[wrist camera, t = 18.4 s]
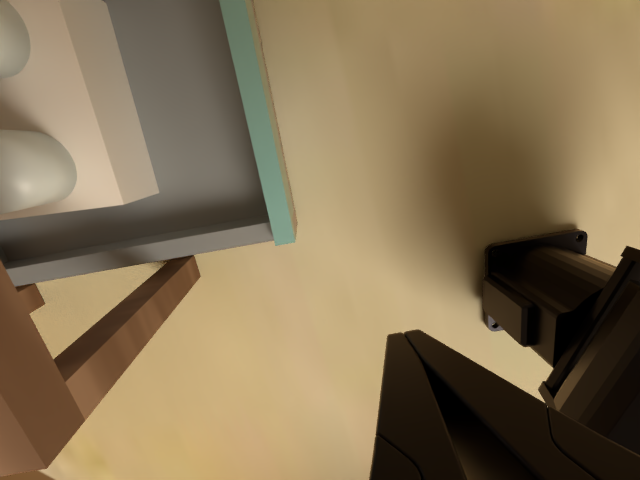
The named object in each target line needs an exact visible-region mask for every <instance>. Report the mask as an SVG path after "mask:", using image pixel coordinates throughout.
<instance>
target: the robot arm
mask: <svg viewBox="0 0 640 480" xmlns="http://www.w3.org/2000/svg"><path fill="white" fill-rule="evenodd" d="M577 236H578V238H577V239H576V237H577ZM586 246H587V233H586V232H584V231H582V230H579V229H574V230H568V231H562V232H557V233H551V234H545V235H540V236H534V237H529V238H523V239H517V240H512V241H506V242H500V243H495V244H491V245H489V246H487V247H486V249H485V276H484V278H483V310H484V311H485V325H486V326H487V327H488V328H489V329H490V330H491V331H500V330H505V331H506V332H507V333H508V334H509V335H510V336H511V337H512V338H513V339H514V340H516V341H517V342H518V343H519V344H520V345H522V346H523V347H531V348H532V349H533V350H534V351H535V352H536V353H537V354H538V355H539V356H541V357H542V358H543V359H544V360H545V361H546V362H547V363H548V364H549V365H550V366H552V367H553V368H554V369H553V370H552V372H551V374H550V375H549V377H548V378H547V380H546V381H543V382H542V384H541V385H540V387H539V389H538V390H539V392H540V394H541V396H542V397H543V399H544V401H545V403H544V402H542V401H541V400H539V399H537V398H535V397H534V396H532V395H530V394H529V393H527V392H525V391H523V390H522V389H520V388H518V387H517V386H515V385H513V384H511V383H510V382H508V381H506V380H505V379H503V378H501V377H499V376H498V375H496V374H494V373H493V372H491V371H489V370H488V369H486V368H484V367H482V366H481V365H479V364H477V363H476V362H474V361H472V360H470V359H469V358H467V357H465V356H464V355H462V354H460V353H458V352H457V351H455V350H453V349H452V348H450V347H448V346H446V345H445V344H443V343H441V342H440V341H438V340H436V339H434V338H433V337H431V336H429V335H428V334H426V333H424V332H423V331H421V330H411V331H406V332H404V334H403V333H394V334H389V335H388V336H387V343H386V351H385V360H384V368H383V377H382V385H381V394H380V402H379V411H378V419H377V428H376V437H375V443H374V451H373V458H372V464H371V471H370V477H369V480H640V250H639V249H635V248H632V247H629V246H626V248H625V249H624V251H623V253H622V254H621V256H622V257H623V258H622V259H621V261H620V263H619V264H618V266H617V267H615V266H613V265H610V264H608V263H605V262H603V261H600V260H598V259H595V258H593V257H590V256H588V255H586ZM495 249H496V252H495V253H494V254H492V251H493V250H495ZM493 323H495V324H494V325H492V324H493ZM546 404H547V405H546ZM547 406H548V407H547Z"/></svg>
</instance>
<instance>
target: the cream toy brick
mask: <svg viewBox="0 0 640 480" xmlns="http://www.w3.org/2000/svg"><path fill="white" fill-rule="evenodd" d="M158 193H159V189H158V186H157V182H156V179H155V175H154V172H153V168H152V164H151V161H150V157H149V154H148V150H147V147H146V143H145V140H144V136H143V132H142V129H141V125H140V122H139V118H138V115H137V111H136V107H135V104H134V100H133V97H132V93H131V90H130V86H129V82H128V79H127V75H126V72H125V68H124V65H123V61H122V57H121V54H120V50H119V47H118V43H117V40H116V36H115V32H114V29H113V25H112V22H111V18H110V15H109V11H108V8H107V4H106V3H105V2H104V1H102V0H0V220H7V219H15V218H23V217H31V216H39V215H47V214H54V213H62V212H70V211H78V210H86V209H94V208H102V207H109V206H117V205H124V204H127V203H130V202H133V201H136V200H140V199H143V198H146V197H149V196H152V195H155V194H158Z"/></svg>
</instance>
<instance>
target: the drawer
mask: <svg viewBox="0 0 640 480" xmlns="http://www.w3.org/2000/svg"><path fill="white" fill-rule="evenodd" d="M102 1H104V2H105V3H106V4H107V8H108V11H109V15H110V18H111V22H112V25H113V29H114V32H115V36H116V40H117V43H118V47H119V50H120V54H121V57H122V61H123V65H124V68H125V72H126V75H127V79H128V82H129V86H130V90H131V93H132V97H133V100H134V104H135V107H136V111H137V115H138V118H139V122H140V125H141V129H142V132H143V136H144V140H145V143H146V147H147V150H148V154H149V157H150V161H151V164H152V168H153V172H154V175H155V179H156V182H157V186H158V189H159V193H158V194H155V195H152V196H149V197H146V198H143V199H140V200H136V201H133V202H130V203H127V204H124V205H117V206H109V207H102V208H94V209H86V210H78V211H70V212H62V213H54V214H47V215H39V216H31V217H23V218H15V219H7V220H0V260H1V262H2V264H3V266H4V267H5V269H6V271H7V273H8V275H9V277H10V279H11V281H12V283H13V284H14V286H21V285H26V284H32V283H38V282H43V281H49V280H55V279H60V278H66V277H71V276H77V275H83V274H88V273H94V272H99V271H105V270H111V269H116V268H122V267H128V266H133V265H139V264H144V263H150V262H156V261H161V260H167V259H172V258H178V257H184V256H189V255H195V254H200V253H206V252H212V251H217V250H223V249H229V248H234V247H240V246H245V245H251V244H257V243H262V242H268V241H273V240H274V241H275V246H277V245H283V244H288V243H294V242H295V240H296V232H297V218H296V213H295V208H294V203H293V198H292V193H291V188H290V183H289V178H288V173H287V168H286V163H285V158H284V153H283V148H282V143H281V138H280V133H279V128H278V123H277V118H276V113H275V108H274V103H273V98H272V93H271V89H270V84H269V79H268V74H267V69H266V64H265V59H264V54H263V49H262V44H261V39H260V34H259V29H258V24H257V19H256V14H255V9H254V4H253V0H102Z"/></svg>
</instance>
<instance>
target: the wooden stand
mask: <svg viewBox="0 0 640 480" xmlns="http://www.w3.org/2000/svg"><path fill="white" fill-rule="evenodd" d="M200 277H201V276H200V273H199V270H198V267H197V264H196V261H195V257H194V255H193V256H188V257H182V258H176V259H171V260H170V261H169V262H167V263H166V264H165V265H164V266H163V267H162V268H160V269H159V270H158V271H157V272H156V273H155V274H153V275H152V276H151V277H150V278H149V279H147V280H146V281H145V282H144V283H143V284H142V285H140V286H139V287H138V288H137V289H136V290H135V291H133V292H132V293H131V294H130V295H129V296H128V297H126V298H125V299H124V300H123V301H122V302H120V303H119V304H118V305H117V306H116V307H115V308H113V309H112V310H111V311H110V312H109V313H108V314H106V315H105V316H104V317H103V318H102V319H100V320H99V321H98V322H97V323H96V324H95V325H93V326H92V327H91V328H90V329H89V330H88V331H86V332H85V333H84V334H83V335H82V336H80V337H79V338H78V339H77V340H76V341H75V342H73V343H72V344H71V345H70V346H69V347H68V348H66V349H65V350H64V351H63V352H62V353H61V354H59V355H58V356H57V357H56V358H55V359H53V358H52V356H51V354H50V353H49V351H48V349H47V347H46V345H45V343H44V341H43V339H42V337H41V336H40V334H39V332H38V330H37V328H36V326H35V324H34V322H33V320H32V319H31V317H30V315H29V314H30V313H31V312H33V311H34V310H36V309H38V308H39V307H41V306H43V305H44V304H45V303H44V301H43V299H42V297H41V295H40V293H39V291H38V289H37V287H36V285H35V284H30V285H25V286H19V287H15V286H14V284H13V283H12V281H11V279H10V277H9V275H8V273H7V271H6V269H5V267H4V266H3V264H2V262H1V260H0V476H6V475H11V474H17V473H24V472H29V471H35V470H41V469H47V468H48V466H49V465H50V464H51V463H52V461H53V460H54V459H55V458H56V456H57V455H58V454H59V453H60V451H61V450H62V449H63V448H64V446H65V445H66V444H67V443H68V441H69V440H70V439H71V438H72V436H73V435H74V434H75V433H76V431H77V430H78V429H79V428H80V426H81V425H82V424H83V423H84V421H85V420H86V419H87V418H88V416H89V415H90V414H91V413H92V411H93V410H94V409H95V408H96V406H97V405H98V404H99V403H100V401H101V400H102V399H103V398H104V396H105V395H106V394H107V393H108V391H109V390H110V389H111V388H112V386H113V385H114V384H115V383H116V381H117V380H118V379H119V378H120V376H121V375H122V374H123V373H124V371H125V370H126V369H127V368H128V366H129V365H130V364H131V363H132V361H133V360H134V359H135V358H136V356H137V355H138V354H139V353H140V351H141V350H142V349H143V348H144V346H145V345H146V344H147V343H148V341H149V340H150V339H151V338H152V336H153V335H154V334H155V333H156V331H157V330H158V329H159V328H160V326H161V325H162V324H163V323H164V321H165V320H166V319H167V318H168V316H169V315H170V314H171V313H172V311H173V310H174V309H175V308H176V306H177V305H178V304H179V303H180V302H181V300H182V299H183V298H184V297H185V295H186V294H187V293H188V292H189V290H190V289H191V288H192V287H193V285H194V284H195V283H196V282H197V280H198V279H199V278H200Z"/></svg>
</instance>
